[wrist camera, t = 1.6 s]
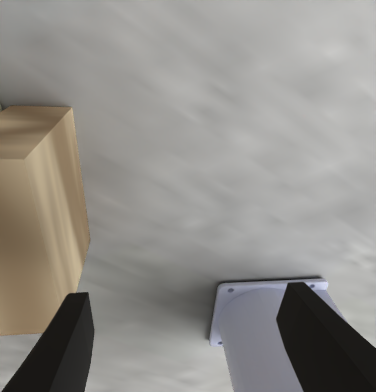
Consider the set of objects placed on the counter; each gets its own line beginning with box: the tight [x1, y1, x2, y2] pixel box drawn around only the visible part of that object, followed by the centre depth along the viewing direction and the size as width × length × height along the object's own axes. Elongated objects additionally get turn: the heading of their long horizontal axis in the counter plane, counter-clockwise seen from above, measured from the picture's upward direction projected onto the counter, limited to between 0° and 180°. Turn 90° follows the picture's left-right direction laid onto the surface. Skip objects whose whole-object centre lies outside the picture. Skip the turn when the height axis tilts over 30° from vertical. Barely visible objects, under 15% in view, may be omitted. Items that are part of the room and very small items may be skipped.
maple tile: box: [0, 105, 90, 336], centre depth 14 cm, size 3×9×7 cm, turn 176°
